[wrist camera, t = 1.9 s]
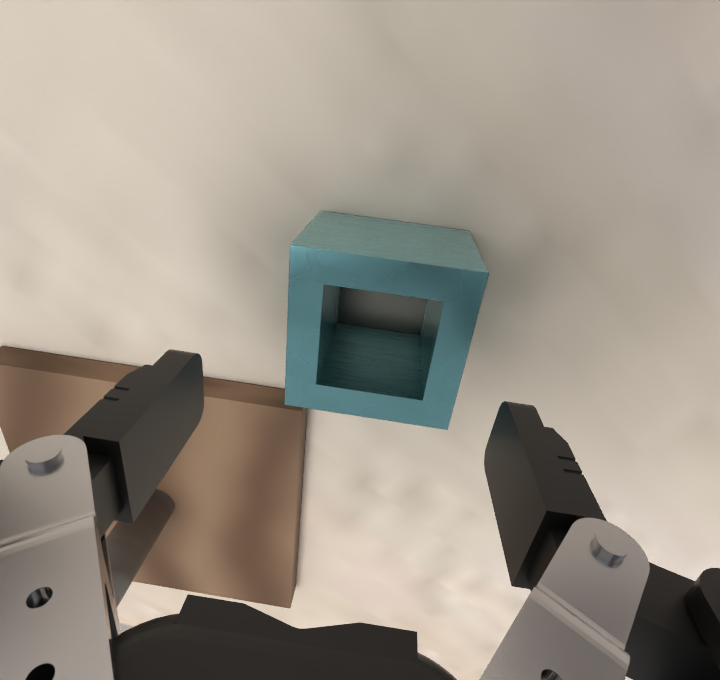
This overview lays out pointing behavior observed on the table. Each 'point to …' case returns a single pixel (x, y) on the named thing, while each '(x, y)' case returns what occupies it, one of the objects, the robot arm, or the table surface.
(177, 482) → the post stand
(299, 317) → the collar
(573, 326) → the table surface
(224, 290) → the table surface
